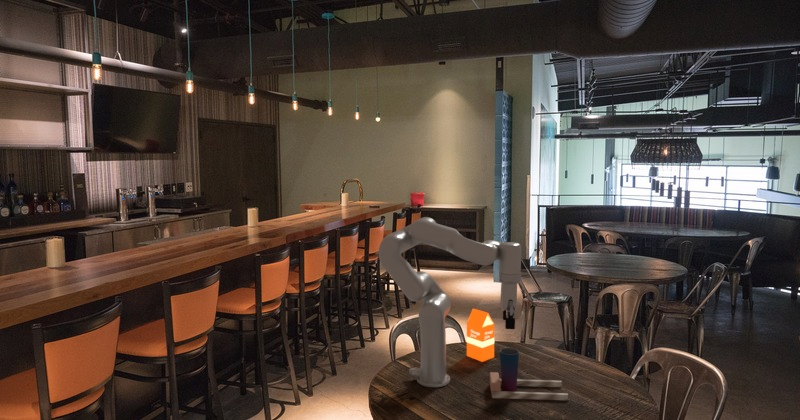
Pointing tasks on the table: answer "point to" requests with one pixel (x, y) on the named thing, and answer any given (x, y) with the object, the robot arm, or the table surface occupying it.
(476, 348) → the orange juice
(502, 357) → the cup
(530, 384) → the track
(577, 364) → the table surface
